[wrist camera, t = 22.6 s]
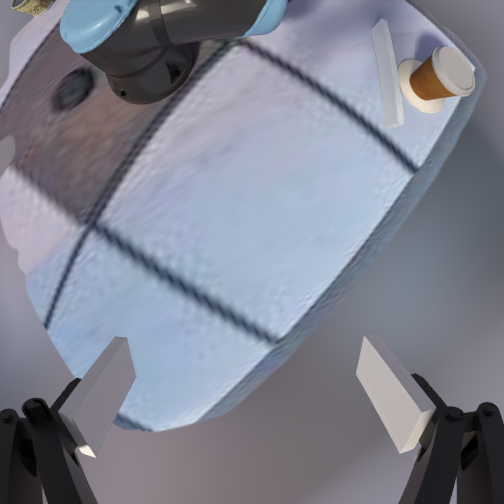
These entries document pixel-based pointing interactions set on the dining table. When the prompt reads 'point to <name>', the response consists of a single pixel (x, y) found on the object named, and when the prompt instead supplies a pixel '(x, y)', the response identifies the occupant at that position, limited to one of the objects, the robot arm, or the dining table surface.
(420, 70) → the disposable coffee cup
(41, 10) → the ceramic cup
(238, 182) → the dining table surface
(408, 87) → the mat
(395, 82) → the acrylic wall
